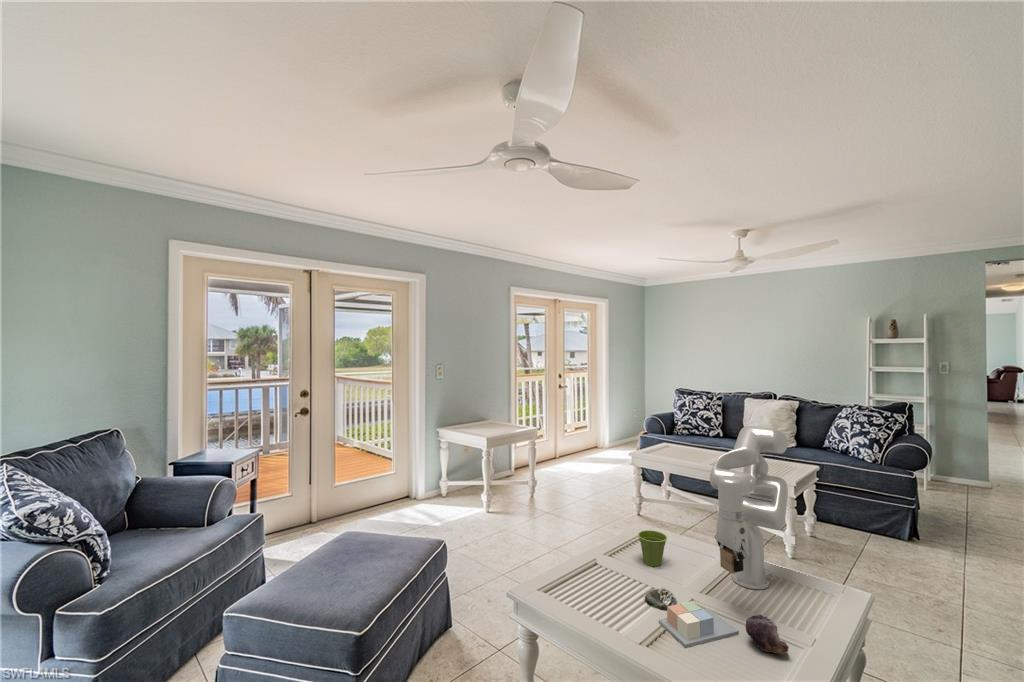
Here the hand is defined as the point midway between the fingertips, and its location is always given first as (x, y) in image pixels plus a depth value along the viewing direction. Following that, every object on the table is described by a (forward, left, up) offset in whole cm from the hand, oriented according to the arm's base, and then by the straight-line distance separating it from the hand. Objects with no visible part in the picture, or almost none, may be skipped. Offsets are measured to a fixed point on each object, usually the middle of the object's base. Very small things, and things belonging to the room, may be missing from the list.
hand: (731, 566), depth 156 cm
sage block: (+18, +1, -14) cm, 23 cm away
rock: (+5, +17, -16) cm, 24 cm away
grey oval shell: (+19, -13, -16) cm, 28 cm away
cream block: (+23, +6, -14) cm, 28 cm away
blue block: (+18, +6, -14) cm, 24 cm away
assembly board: (+18, +4, -15) cm, 24 cm away
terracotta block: (+23, +1, -14) cm, 27 cm away
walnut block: (0, 0, -1) cm, 1 cm away
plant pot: (+5, -39, -16) cm, 42 cm away
